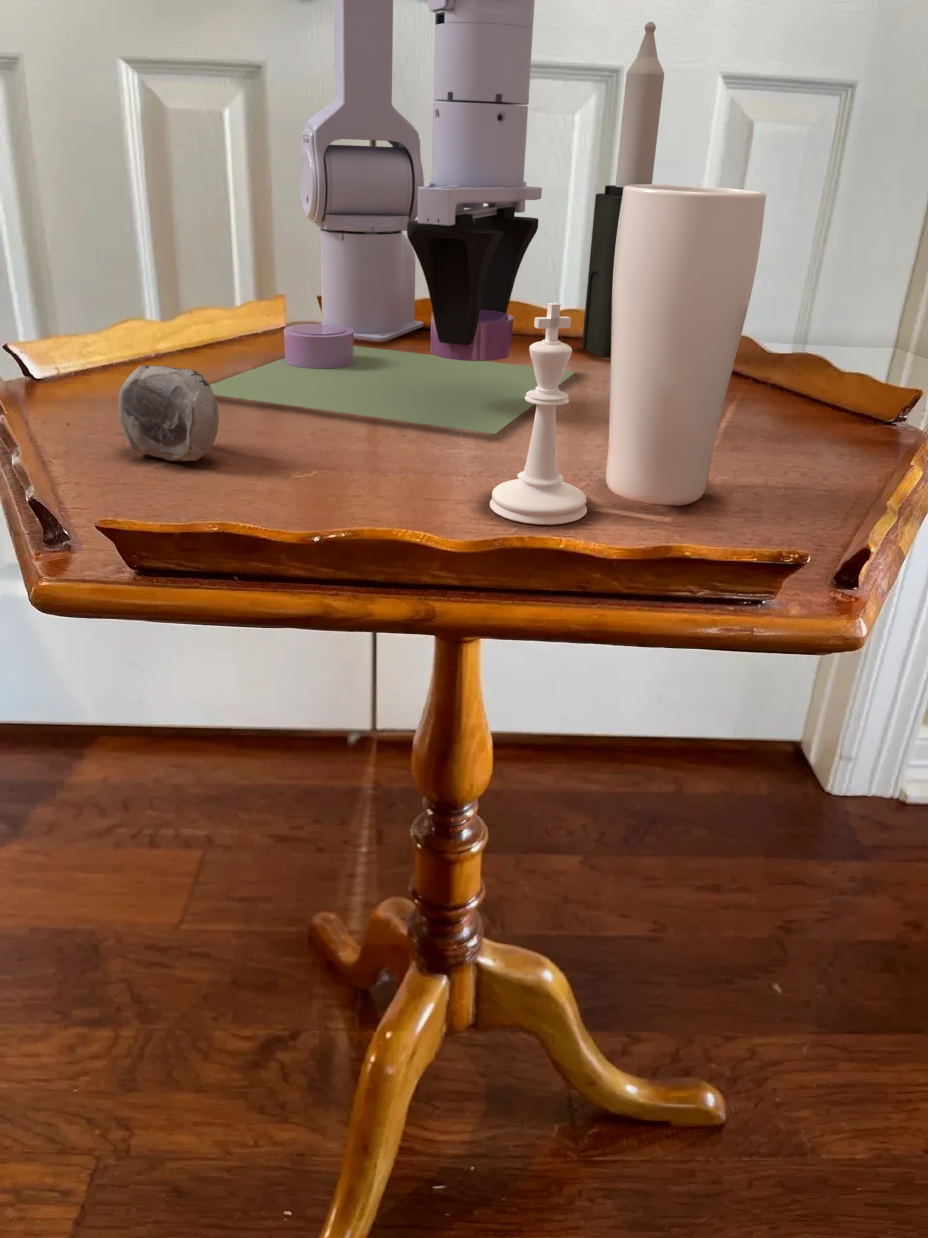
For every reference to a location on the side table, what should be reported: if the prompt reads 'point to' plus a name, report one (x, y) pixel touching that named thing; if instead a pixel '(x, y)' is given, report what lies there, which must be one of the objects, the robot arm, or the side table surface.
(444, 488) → the side table surface
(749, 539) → the side table surface
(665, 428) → the drinking glass
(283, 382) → the placemat
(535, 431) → the chess piece
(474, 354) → the mauve dish
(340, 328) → the lilac dish
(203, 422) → the fossil
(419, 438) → the side table surface
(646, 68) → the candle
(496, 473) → the side table surface
